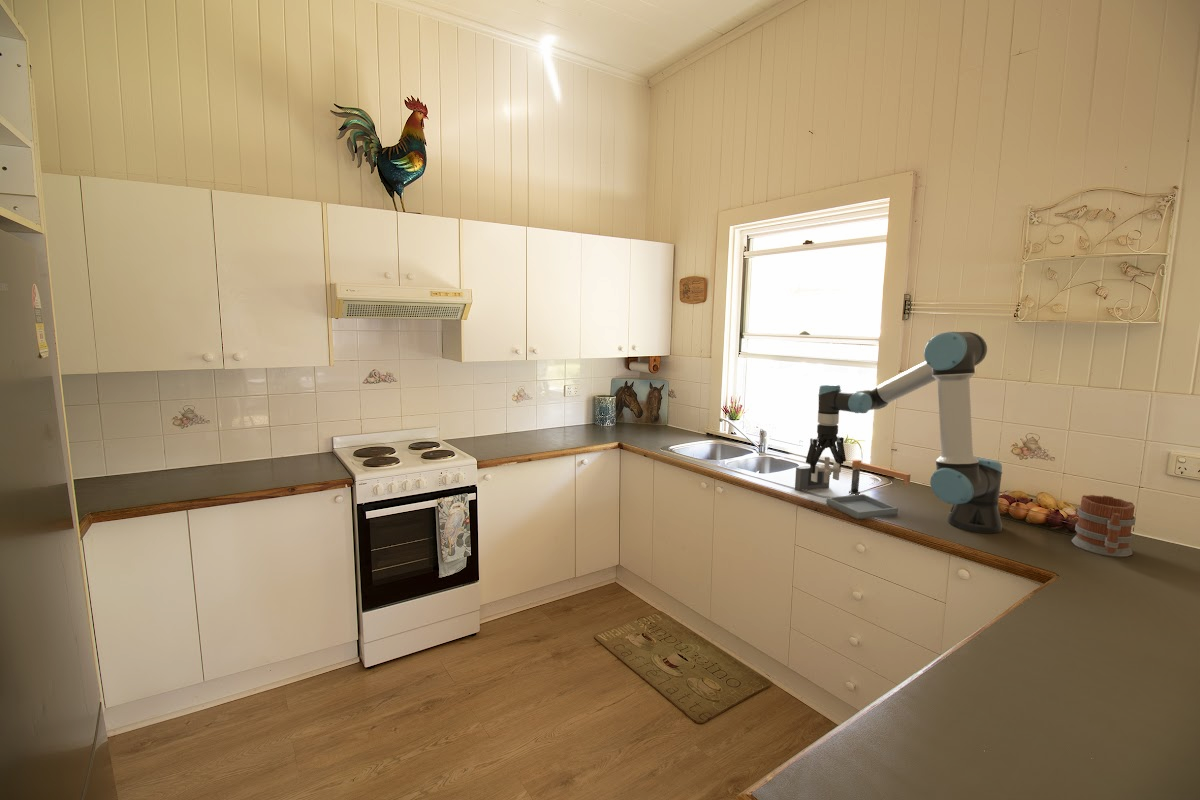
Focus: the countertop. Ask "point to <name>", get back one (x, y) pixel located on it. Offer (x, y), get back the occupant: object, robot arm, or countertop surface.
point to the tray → (861, 506)
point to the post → (855, 482)
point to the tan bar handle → (881, 470)
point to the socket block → (809, 479)
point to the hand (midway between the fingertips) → (825, 480)
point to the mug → (1105, 526)
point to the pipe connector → (827, 469)
